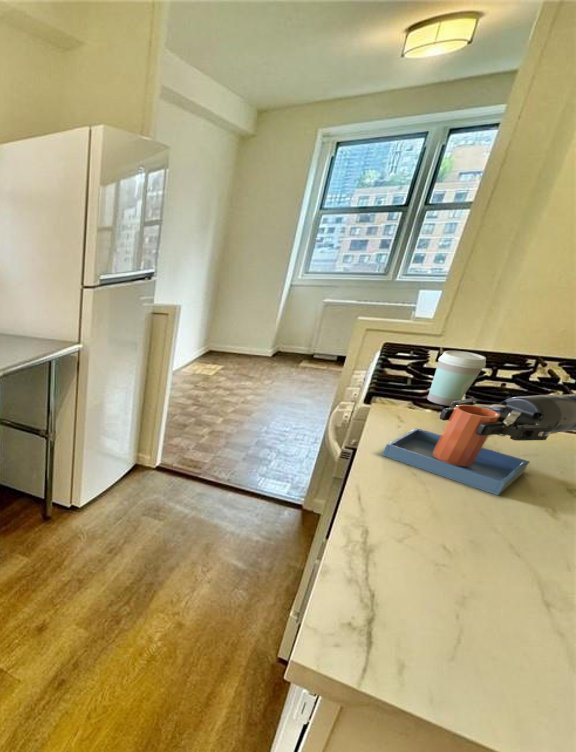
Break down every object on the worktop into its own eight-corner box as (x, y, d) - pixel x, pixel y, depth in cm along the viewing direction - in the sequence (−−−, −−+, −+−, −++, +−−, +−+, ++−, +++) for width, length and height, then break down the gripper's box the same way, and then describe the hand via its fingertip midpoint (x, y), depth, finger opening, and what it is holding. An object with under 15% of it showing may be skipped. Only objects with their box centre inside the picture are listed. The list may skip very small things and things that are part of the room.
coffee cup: (459, 410, 116) (484, 362, 110) (415, 400, 122) (436, 353, 116) (469, 403, 120) (493, 356, 115) (426, 392, 126) (447, 348, 121)
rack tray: (522, 473, 90) (530, 461, 89) (497, 495, 83) (505, 483, 82) (411, 438, 103) (416, 427, 101) (381, 455, 96) (386, 444, 95)
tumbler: (477, 460, 92) (504, 412, 87) (466, 469, 89) (493, 420, 84) (439, 448, 96) (462, 402, 91) (426, 456, 93) (450, 409, 88)
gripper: (503, 383, 95) (431, 388, 93) (597, 412, 83) (516, 419, 80) (484, 418, 99) (414, 424, 96) (571, 450, 86) (493, 458, 84)
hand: (461, 421), depth 88 cm, fingers closed on tumbler, 6 cm apart
